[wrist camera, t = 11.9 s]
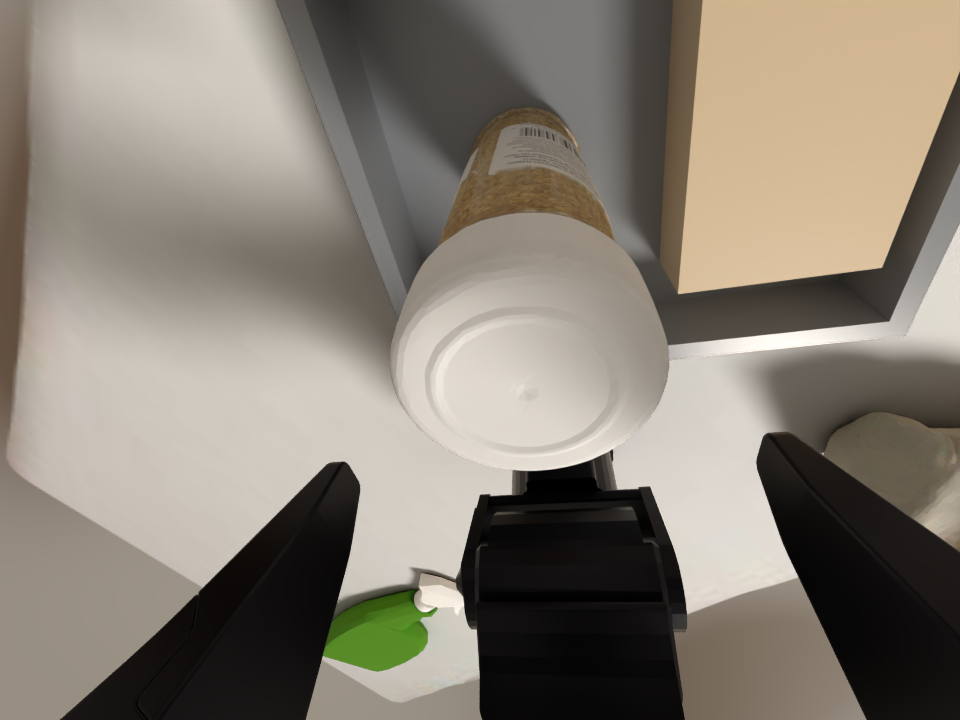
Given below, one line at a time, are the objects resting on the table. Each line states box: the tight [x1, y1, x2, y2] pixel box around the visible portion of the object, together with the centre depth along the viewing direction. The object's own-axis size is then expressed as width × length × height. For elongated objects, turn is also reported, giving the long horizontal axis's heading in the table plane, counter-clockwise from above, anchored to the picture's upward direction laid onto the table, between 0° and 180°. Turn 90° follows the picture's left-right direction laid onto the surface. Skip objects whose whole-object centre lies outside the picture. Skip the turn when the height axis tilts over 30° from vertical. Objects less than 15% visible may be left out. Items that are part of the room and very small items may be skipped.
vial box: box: [659, 0, 960, 294], centre depth 14 cm, size 10×7×3 cm
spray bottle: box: [323, 573, 464, 672], centre depth 48 cm, size 3×11×25 cm
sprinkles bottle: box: [390, 107, 669, 471], centre depth 12 cm, size 5×5×13 cm
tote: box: [276, 0, 960, 360], centre depth 15 cm, size 16×20×4 cm
